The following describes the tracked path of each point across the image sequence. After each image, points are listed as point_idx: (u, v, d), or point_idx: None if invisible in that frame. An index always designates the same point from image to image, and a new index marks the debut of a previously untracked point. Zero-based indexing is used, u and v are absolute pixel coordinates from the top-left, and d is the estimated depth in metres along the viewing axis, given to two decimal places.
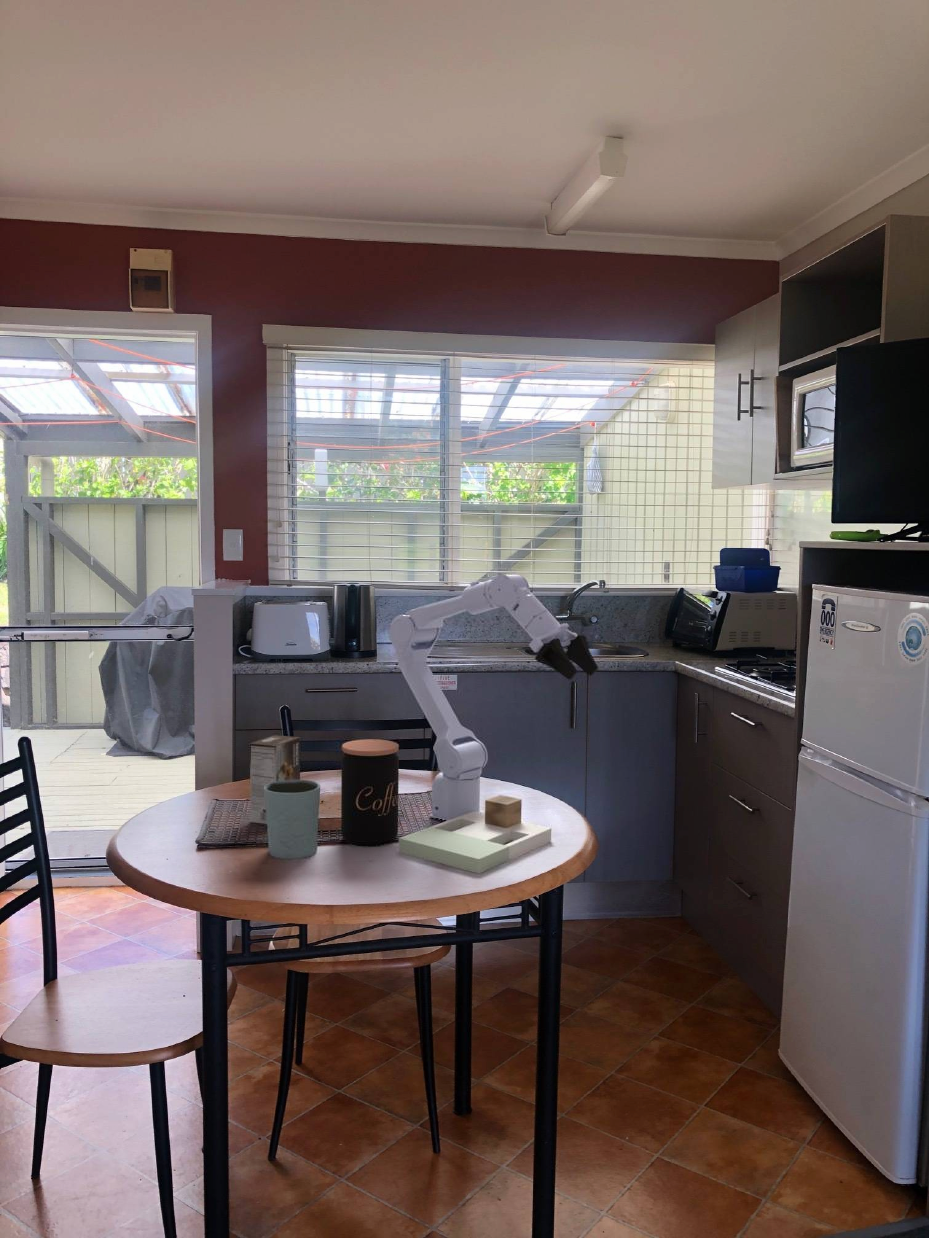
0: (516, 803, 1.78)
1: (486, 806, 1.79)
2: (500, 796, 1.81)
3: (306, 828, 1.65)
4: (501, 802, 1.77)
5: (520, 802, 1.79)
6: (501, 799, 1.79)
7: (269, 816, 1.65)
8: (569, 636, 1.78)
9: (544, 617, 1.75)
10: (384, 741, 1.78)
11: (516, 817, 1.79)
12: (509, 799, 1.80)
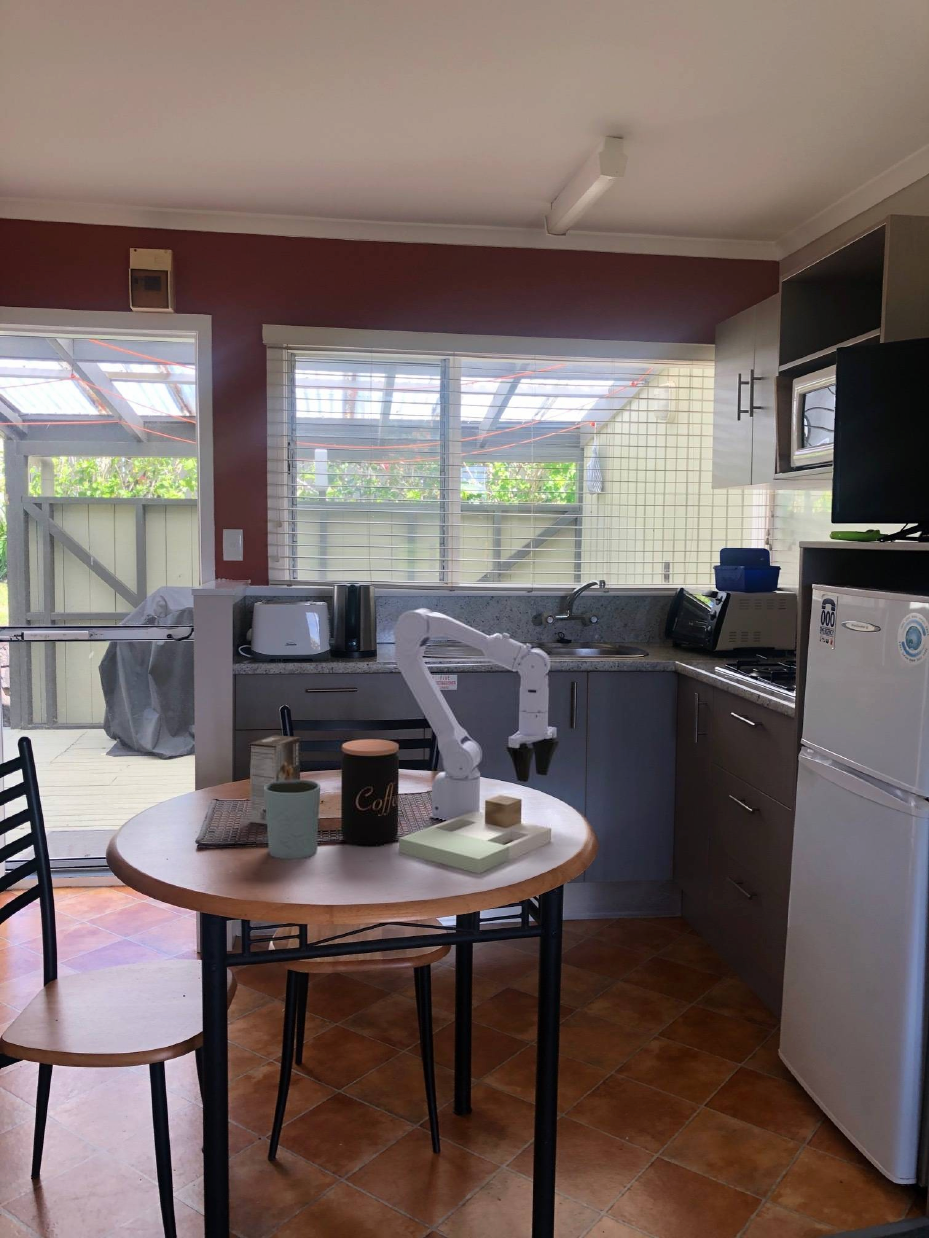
0: (516, 803, 1.78)
1: (486, 806, 1.79)
2: (500, 796, 1.81)
3: (306, 828, 1.65)
4: (501, 802, 1.77)
5: (520, 802, 1.79)
6: (501, 799, 1.79)
7: (269, 816, 1.65)
8: None
9: (540, 718, 1.83)
10: (384, 741, 1.78)
11: (516, 817, 1.79)
12: (509, 799, 1.80)
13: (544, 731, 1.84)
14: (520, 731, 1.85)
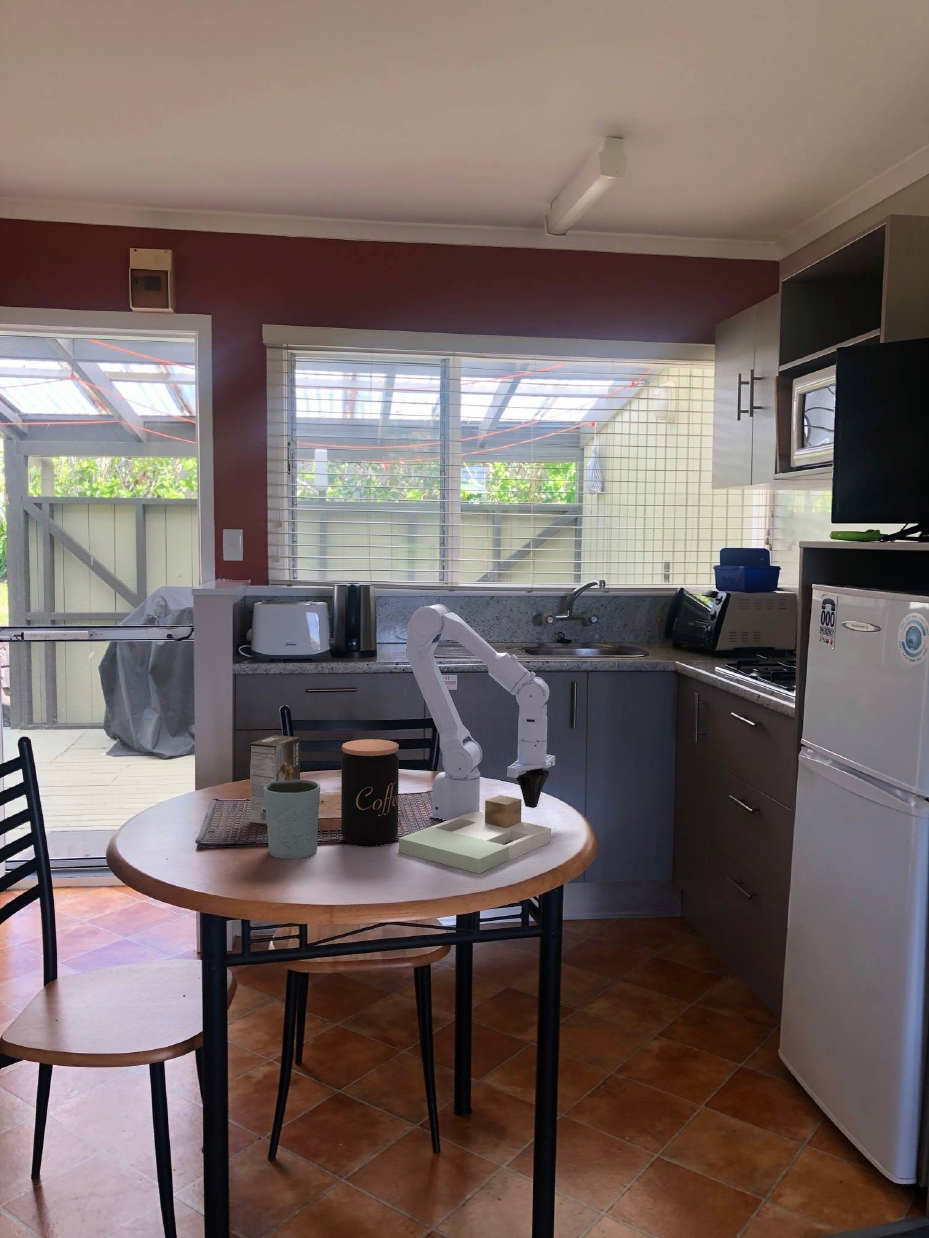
0: (516, 803, 1.78)
1: (486, 806, 1.79)
2: (500, 796, 1.81)
3: (306, 828, 1.65)
4: (501, 802, 1.77)
5: (520, 802, 1.79)
6: (501, 799, 1.79)
7: (269, 816, 1.65)
8: None
9: (538, 747, 1.84)
10: (384, 741, 1.78)
11: (516, 817, 1.79)
12: (509, 799, 1.80)
13: (543, 760, 1.84)
14: (519, 760, 1.85)
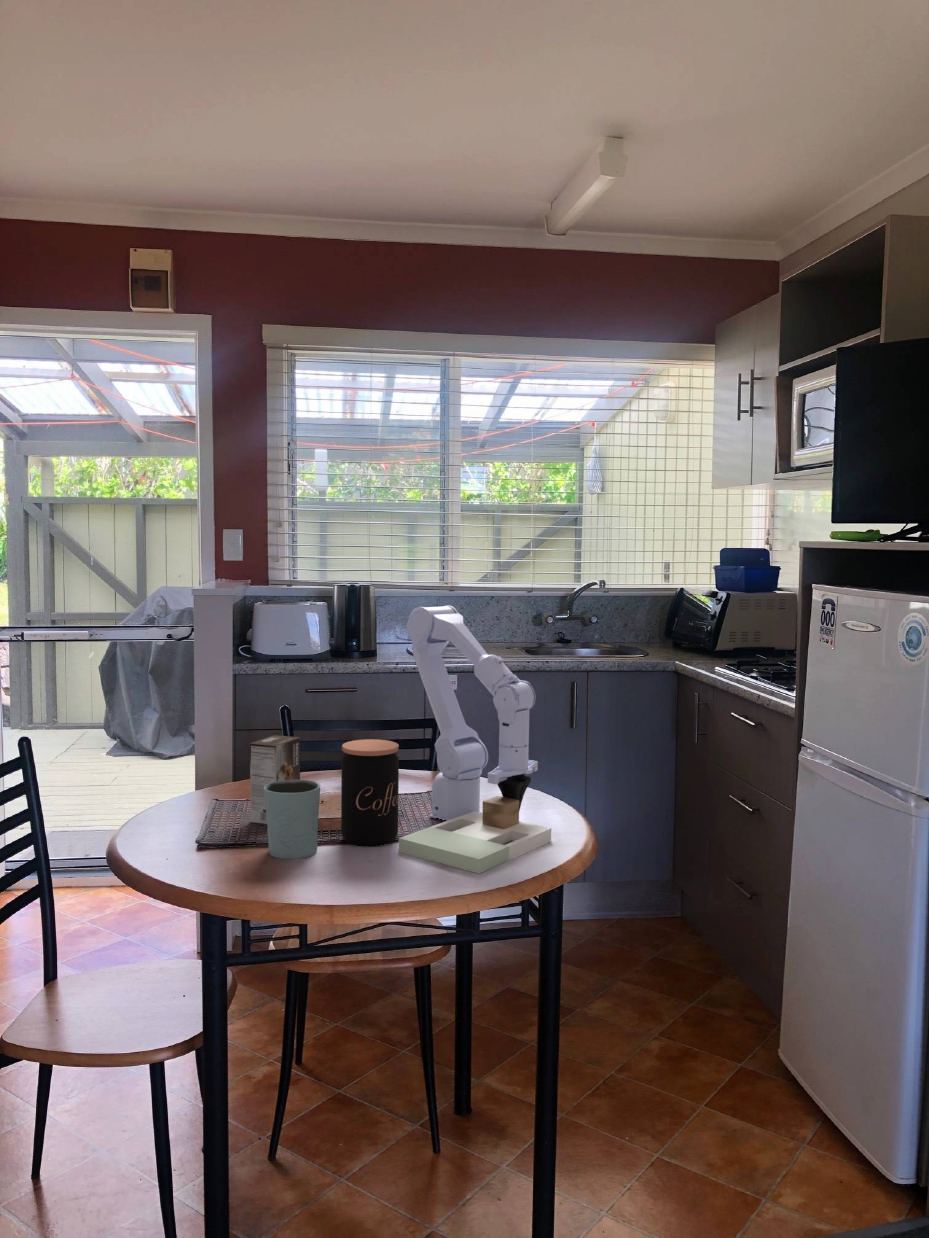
0: (513, 804, 1.78)
1: (483, 807, 1.78)
2: (497, 797, 1.81)
3: (306, 828, 1.65)
4: (499, 803, 1.76)
5: (518, 803, 1.79)
6: (499, 800, 1.79)
7: (269, 816, 1.65)
8: None
9: (520, 752, 1.78)
10: (384, 741, 1.78)
11: (514, 818, 1.78)
12: (507, 800, 1.79)
13: (524, 766, 1.79)
14: (500, 766, 1.80)
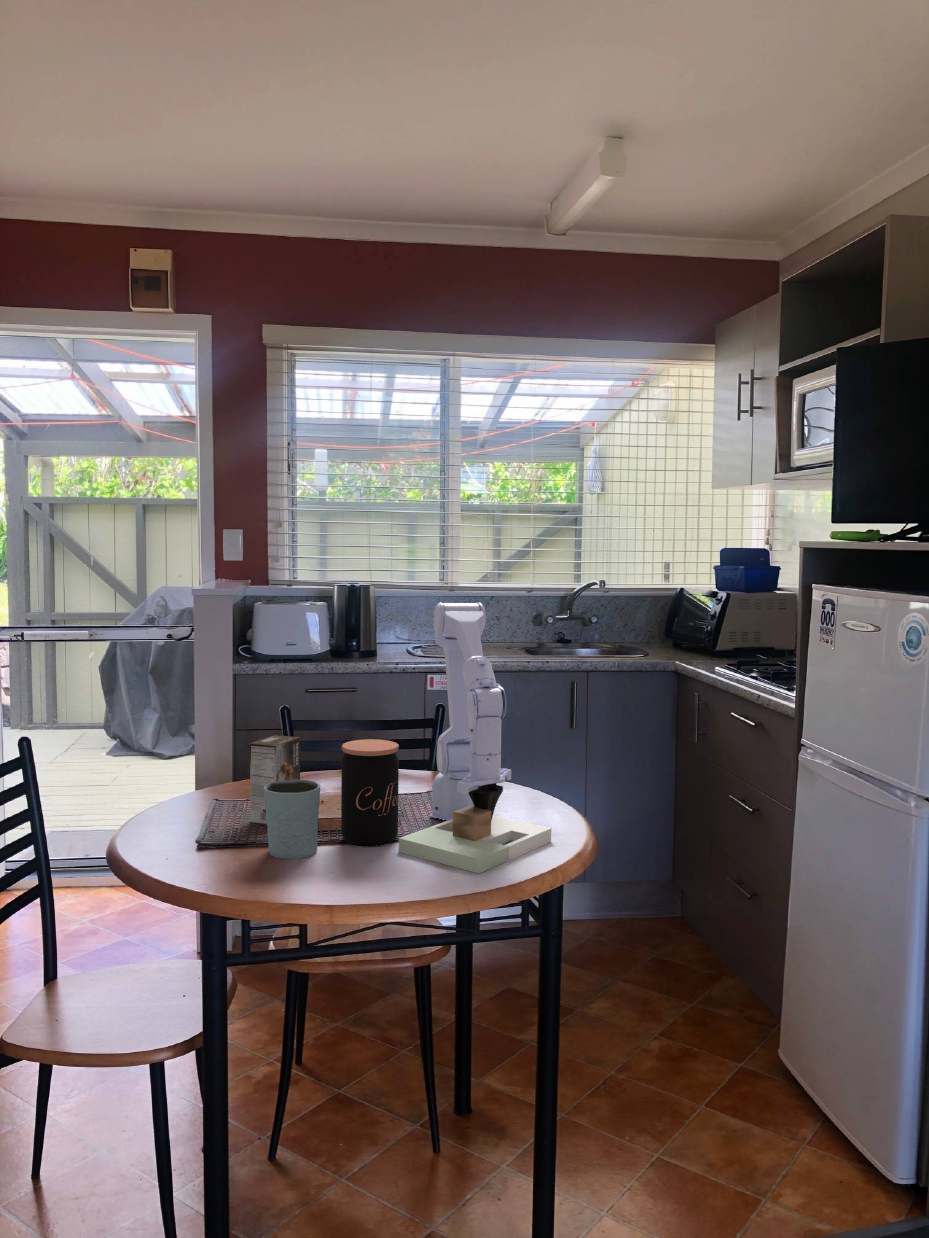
0: (485, 814, 1.70)
1: (454, 818, 1.70)
2: (469, 807, 1.73)
3: (306, 828, 1.65)
4: (469, 814, 1.69)
5: (490, 814, 1.71)
6: (470, 810, 1.71)
7: (269, 816, 1.65)
8: None
9: (491, 761, 1.71)
10: (384, 741, 1.78)
11: (485, 829, 1.70)
12: (478, 810, 1.71)
13: (496, 775, 1.72)
14: (471, 775, 1.73)
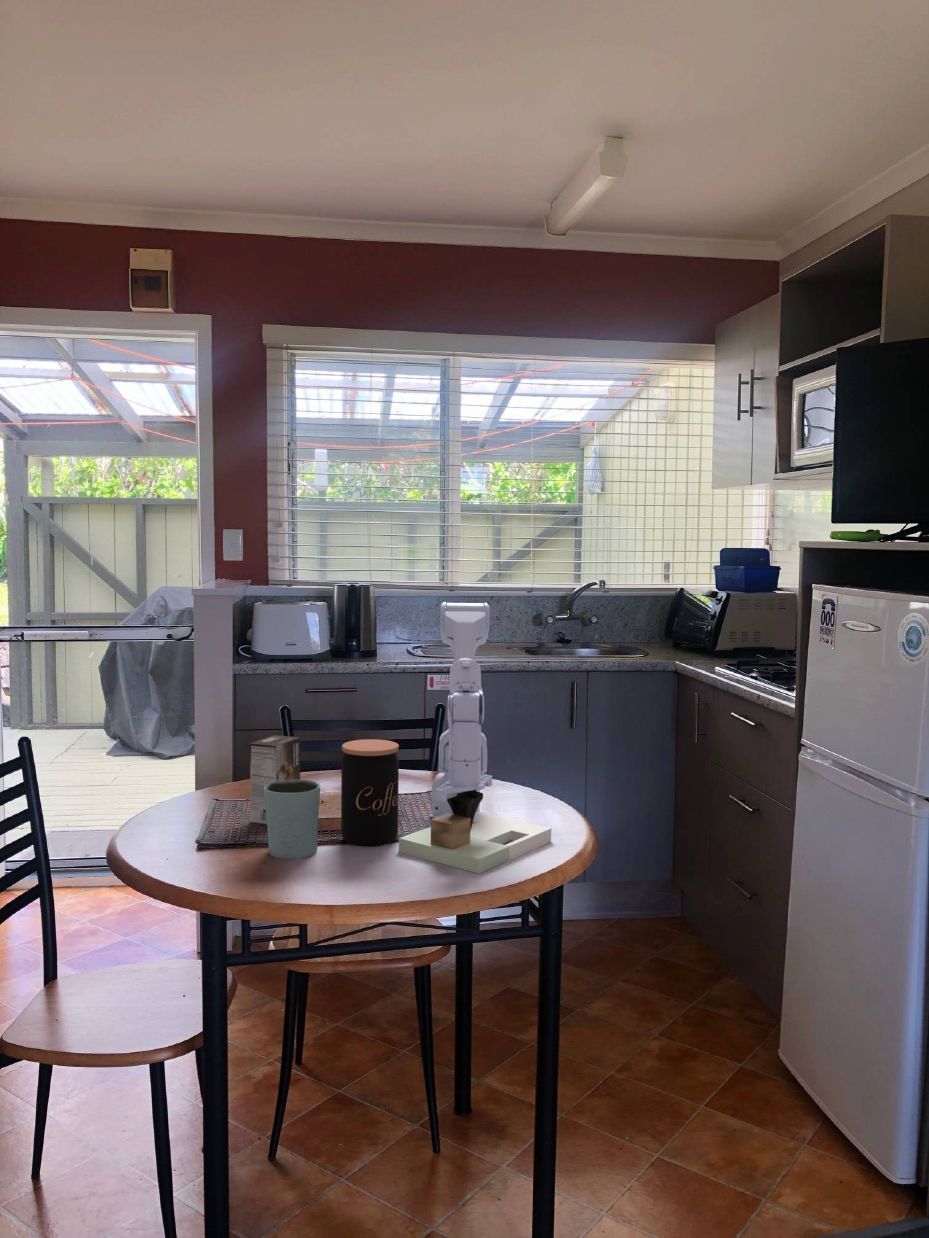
0: (464, 822, 1.65)
1: (432, 826, 1.65)
2: (448, 815, 1.68)
3: (306, 828, 1.65)
4: (447, 821, 1.64)
5: (469, 821, 1.66)
6: (449, 818, 1.66)
7: (269, 816, 1.65)
8: None
9: (470, 767, 1.66)
10: (384, 741, 1.78)
11: (464, 838, 1.65)
12: (457, 818, 1.66)
13: (476, 781, 1.67)
14: (449, 781, 1.68)
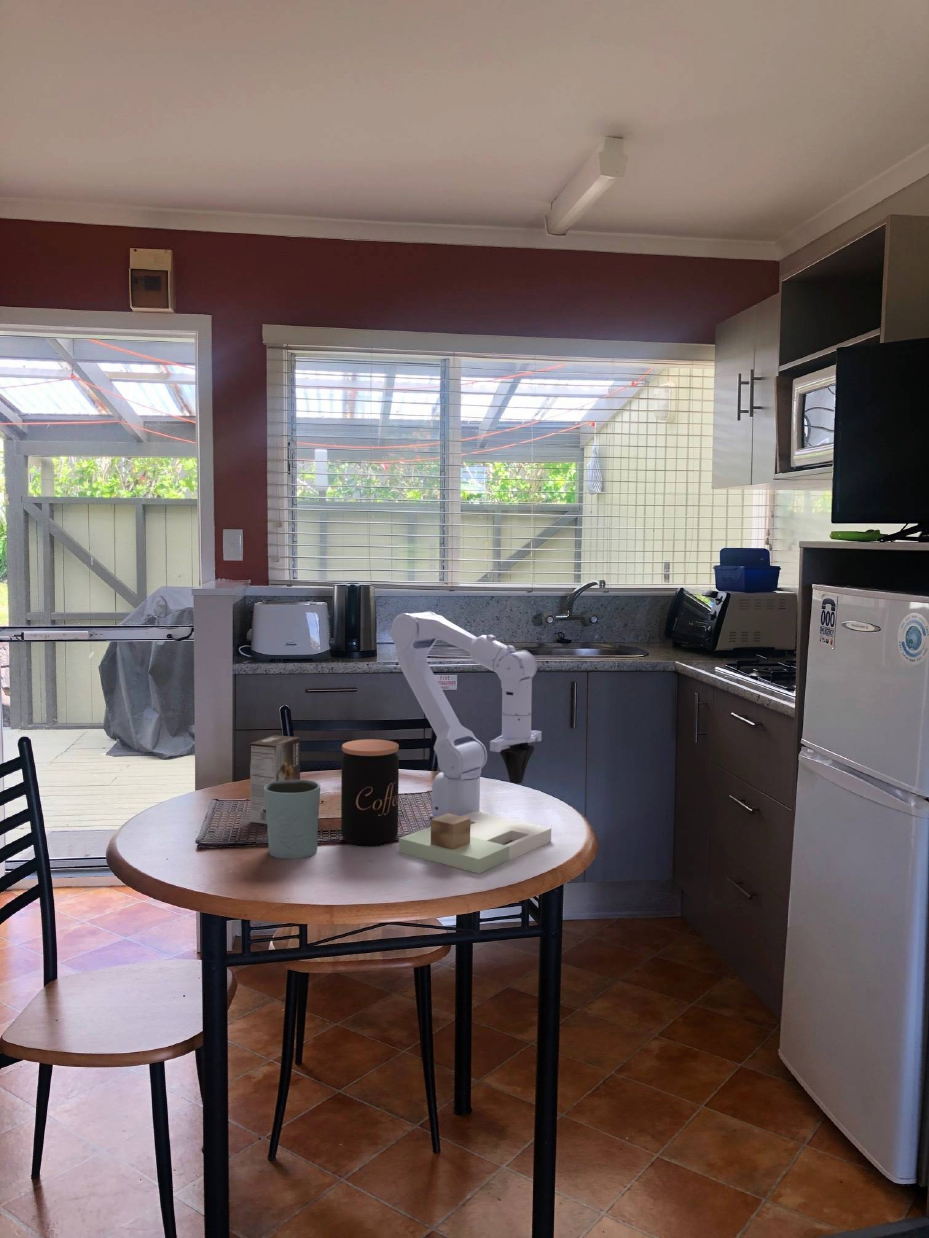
0: (464, 822, 1.65)
1: (432, 826, 1.65)
2: (448, 815, 1.68)
3: (306, 828, 1.65)
4: (447, 821, 1.64)
5: (469, 821, 1.66)
6: (449, 818, 1.66)
7: (269, 816, 1.65)
8: None
9: (522, 721, 1.79)
10: (384, 741, 1.78)
11: (464, 838, 1.65)
12: (457, 818, 1.66)
13: (527, 735, 1.80)
14: (503, 735, 1.81)
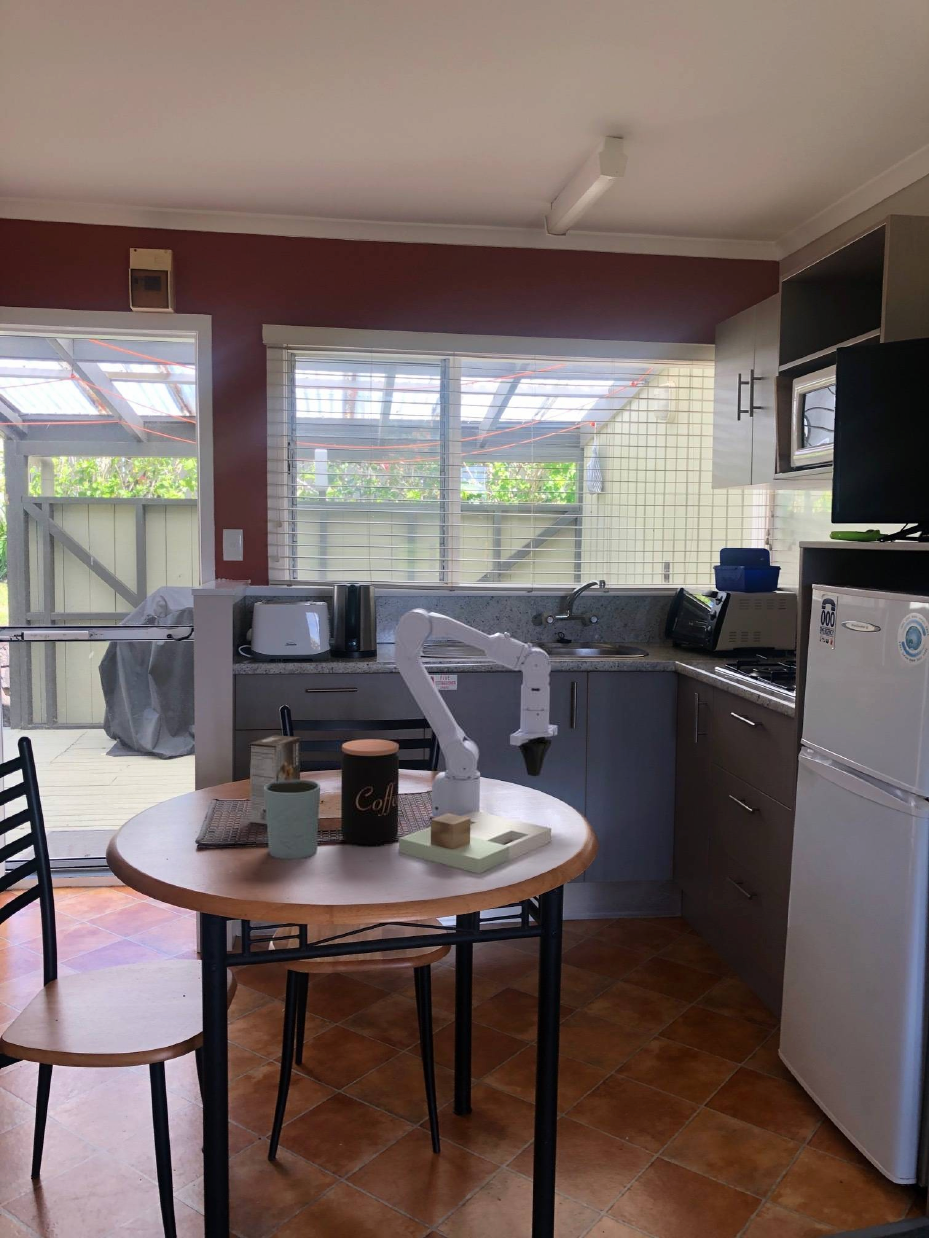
0: (464, 822, 1.65)
1: (432, 826, 1.65)
2: (448, 815, 1.68)
3: (306, 828, 1.65)
4: (447, 821, 1.64)
5: (469, 821, 1.66)
6: (449, 818, 1.66)
7: (269, 816, 1.65)
8: None
9: (541, 716, 1.86)
10: (384, 741, 1.78)
11: (464, 838, 1.65)
12: (457, 818, 1.66)
13: (545, 729, 1.86)
14: (521, 729, 1.87)
